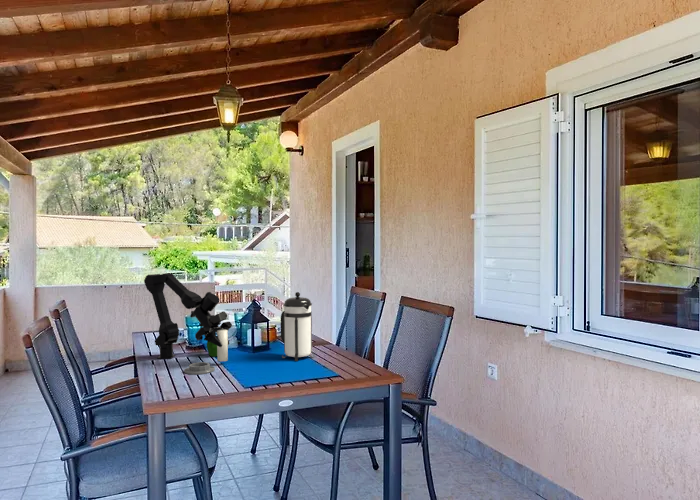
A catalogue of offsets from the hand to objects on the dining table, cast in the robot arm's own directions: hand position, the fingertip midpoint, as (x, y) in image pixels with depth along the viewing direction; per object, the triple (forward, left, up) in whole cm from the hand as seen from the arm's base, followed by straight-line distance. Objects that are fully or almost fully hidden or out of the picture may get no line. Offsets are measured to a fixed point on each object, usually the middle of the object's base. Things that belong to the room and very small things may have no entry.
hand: (225, 345), depth 229 cm
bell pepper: (-18, -9, -9) cm, 22 cm away
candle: (-1, -1, -7) cm, 7 cm away
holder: (+10, -8, -8) cm, 16 cm away
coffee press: (-14, +29, -9) cm, 33 cm away
